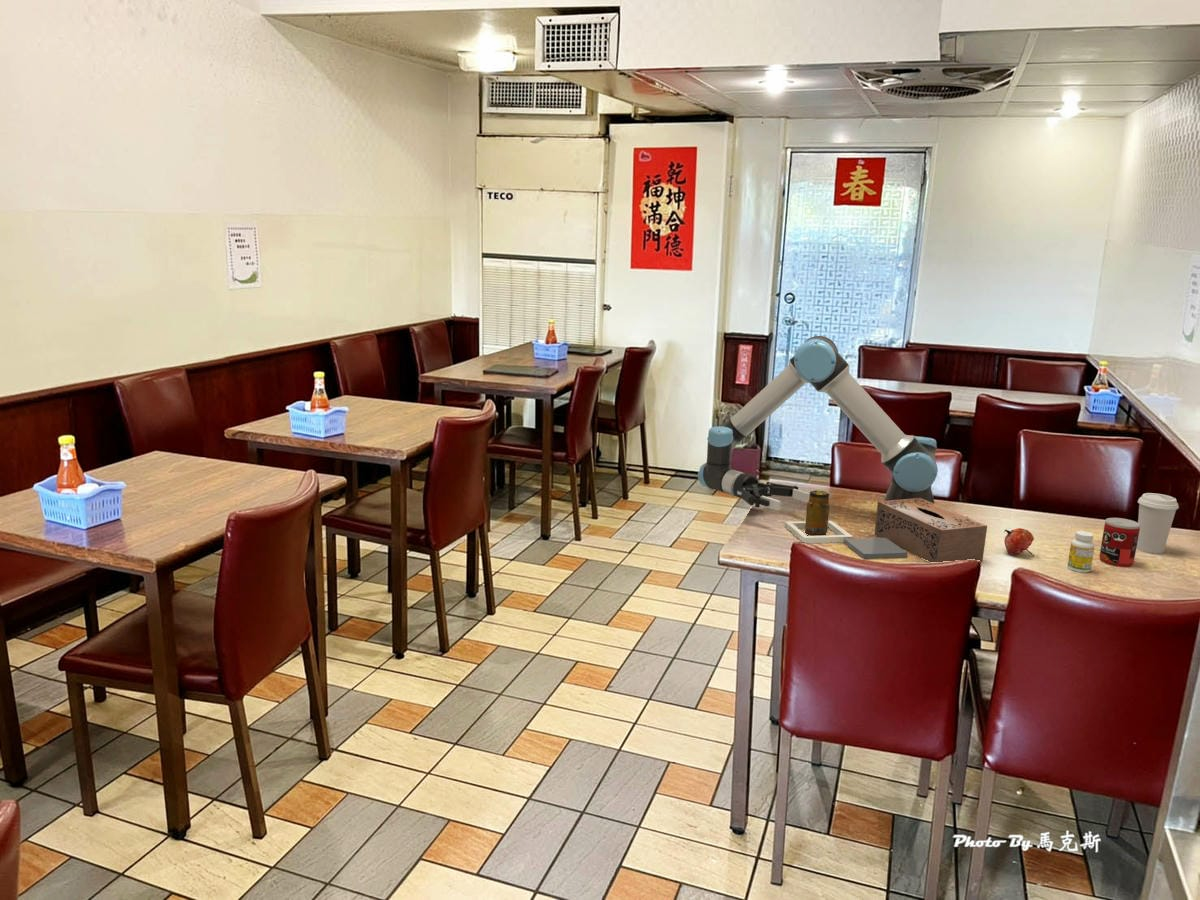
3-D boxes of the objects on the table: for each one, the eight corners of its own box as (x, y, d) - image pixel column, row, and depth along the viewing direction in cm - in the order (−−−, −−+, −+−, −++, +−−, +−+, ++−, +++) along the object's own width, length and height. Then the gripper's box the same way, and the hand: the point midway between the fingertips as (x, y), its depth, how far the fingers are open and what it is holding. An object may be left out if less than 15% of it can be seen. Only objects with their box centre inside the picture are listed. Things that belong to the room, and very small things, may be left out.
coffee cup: (1170, 558, 241) (1180, 504, 238) (1128, 550, 246) (1138, 497, 243) (1170, 548, 249) (1180, 496, 246) (1130, 541, 254) (1139, 490, 251)
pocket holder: (831, 525, 259) (831, 520, 259) (852, 542, 246) (853, 536, 245) (784, 527, 257) (785, 521, 256) (803, 543, 243) (804, 537, 243)
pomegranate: (1025, 558, 244) (997, 532, 246) (1047, 542, 240) (1017, 515, 242) (1022, 569, 238) (992, 542, 240) (1043, 553, 234) (1013, 525, 236)
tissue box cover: (874, 535, 253) (877, 501, 250) (916, 531, 258) (920, 497, 255) (937, 567, 229) (941, 530, 227) (982, 562, 234) (987, 525, 232)
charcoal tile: (884, 542, 246) (885, 537, 246) (906, 557, 235) (907, 552, 235) (843, 543, 244) (844, 538, 244) (863, 559, 233) (864, 554, 232)
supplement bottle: (1089, 574, 227) (1095, 538, 225) (1066, 570, 230) (1071, 534, 228) (1091, 568, 232) (1097, 532, 229) (1068, 564, 234) (1073, 528, 232)
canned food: (1092, 556, 240) (1099, 517, 238) (1120, 556, 241) (1127, 517, 238) (1110, 567, 233) (1117, 526, 230) (1139, 567, 234) (1147, 526, 231)
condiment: (813, 528, 257) (817, 487, 254) (838, 536, 250) (842, 494, 248) (797, 533, 252) (800, 491, 249) (822, 541, 246) (826, 499, 243)
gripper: (767, 491, 281) (822, 508, 264) (710, 503, 266) (764, 522, 249) (769, 467, 279) (824, 483, 263) (711, 478, 264) (766, 496, 248)
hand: (795, 502), depth 256 cm, fingers open, 13 cm apart
